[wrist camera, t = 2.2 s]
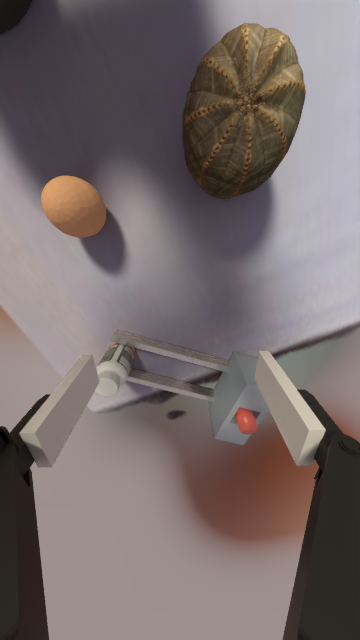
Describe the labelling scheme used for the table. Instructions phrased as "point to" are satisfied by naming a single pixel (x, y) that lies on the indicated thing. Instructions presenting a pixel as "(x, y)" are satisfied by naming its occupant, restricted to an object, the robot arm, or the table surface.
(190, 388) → the rails
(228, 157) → the shell
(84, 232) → the egg
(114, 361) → the pill bottle
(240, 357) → the cabinet
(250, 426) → the button
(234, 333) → the table surface
